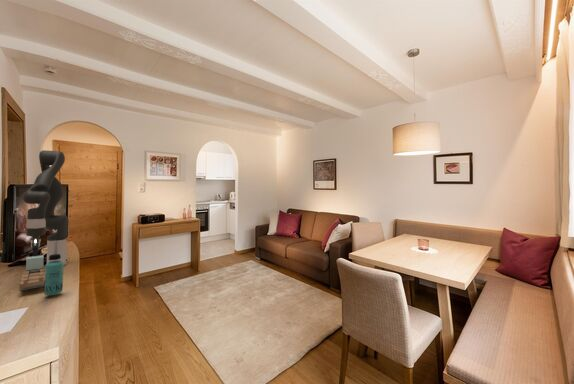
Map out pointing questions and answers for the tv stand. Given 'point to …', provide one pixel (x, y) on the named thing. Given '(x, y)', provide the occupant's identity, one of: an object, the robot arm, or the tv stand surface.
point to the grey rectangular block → (34, 263)
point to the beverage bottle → (53, 276)
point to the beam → (32, 279)
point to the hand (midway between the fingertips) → (35, 257)
